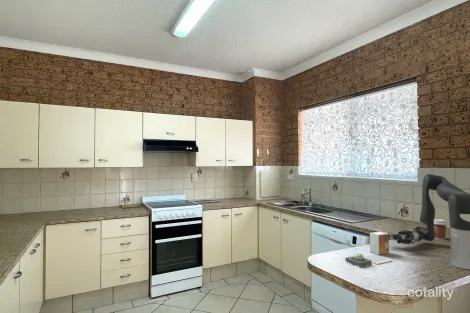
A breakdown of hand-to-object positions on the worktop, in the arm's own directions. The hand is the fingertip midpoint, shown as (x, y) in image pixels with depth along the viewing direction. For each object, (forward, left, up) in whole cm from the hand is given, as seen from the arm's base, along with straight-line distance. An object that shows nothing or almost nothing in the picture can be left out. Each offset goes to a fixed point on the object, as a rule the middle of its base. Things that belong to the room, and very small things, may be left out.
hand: (390, 239), depth 149 cm
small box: (0, +9, -6) cm, 11 cm away
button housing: (-6, +33, -6) cm, 34 cm away
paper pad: (-6, +21, -6) cm, 23 cm away
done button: (-6, +33, -4) cm, 34 cm away
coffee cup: (+3, -55, -6) cm, 55 cm away
